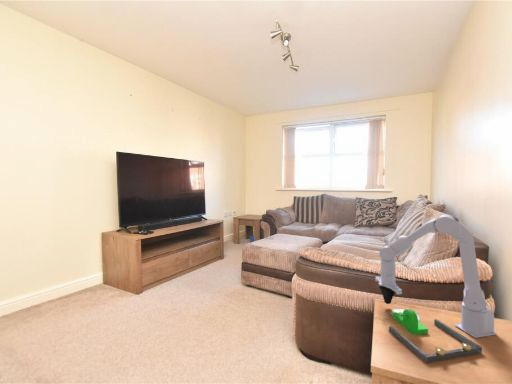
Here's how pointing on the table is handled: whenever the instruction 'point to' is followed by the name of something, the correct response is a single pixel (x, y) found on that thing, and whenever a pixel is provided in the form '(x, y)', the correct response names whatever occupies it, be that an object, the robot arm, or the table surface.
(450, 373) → the table surface
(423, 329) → the mechanical part
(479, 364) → the table surface
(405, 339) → the grey frame
